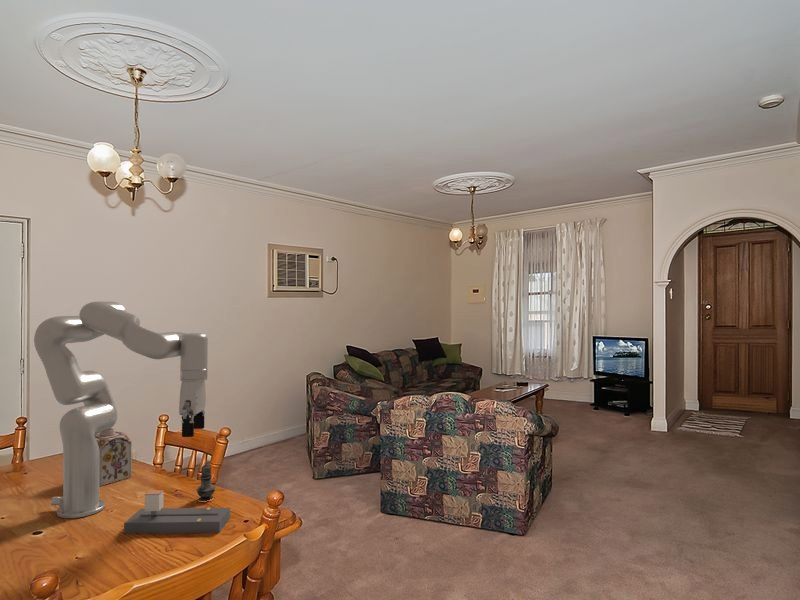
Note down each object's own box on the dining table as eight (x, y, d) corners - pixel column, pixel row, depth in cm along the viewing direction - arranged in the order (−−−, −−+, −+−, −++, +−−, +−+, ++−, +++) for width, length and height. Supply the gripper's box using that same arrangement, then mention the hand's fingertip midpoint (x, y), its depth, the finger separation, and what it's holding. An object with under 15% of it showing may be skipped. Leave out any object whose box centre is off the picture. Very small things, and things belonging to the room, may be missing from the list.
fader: (144, 516, 148) (144, 494, 148) (149, 512, 151) (149, 490, 151) (159, 516, 148) (159, 493, 148) (163, 512, 151) (163, 490, 151)
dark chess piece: (209, 503, 166) (209, 465, 166) (192, 502, 167) (192, 464, 167) (219, 496, 172) (219, 460, 172) (202, 495, 173) (203, 459, 173)
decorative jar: (82, 481, 187) (82, 430, 187) (114, 472, 197) (114, 424, 197) (100, 487, 181) (100, 435, 181) (132, 477, 191) (133, 428, 191)
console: (124, 533, 144) (124, 522, 144) (140, 519, 154) (140, 508, 154) (219, 532, 145) (219, 520, 145) (230, 517, 155) (230, 506, 155)
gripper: (190, 371, 164) (190, 425, 164) (170, 379, 147) (169, 440, 147) (215, 371, 165) (214, 425, 165) (197, 379, 147) (196, 440, 147)
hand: (193, 432), depth 156 cm, fingers open, 9 cm apart
